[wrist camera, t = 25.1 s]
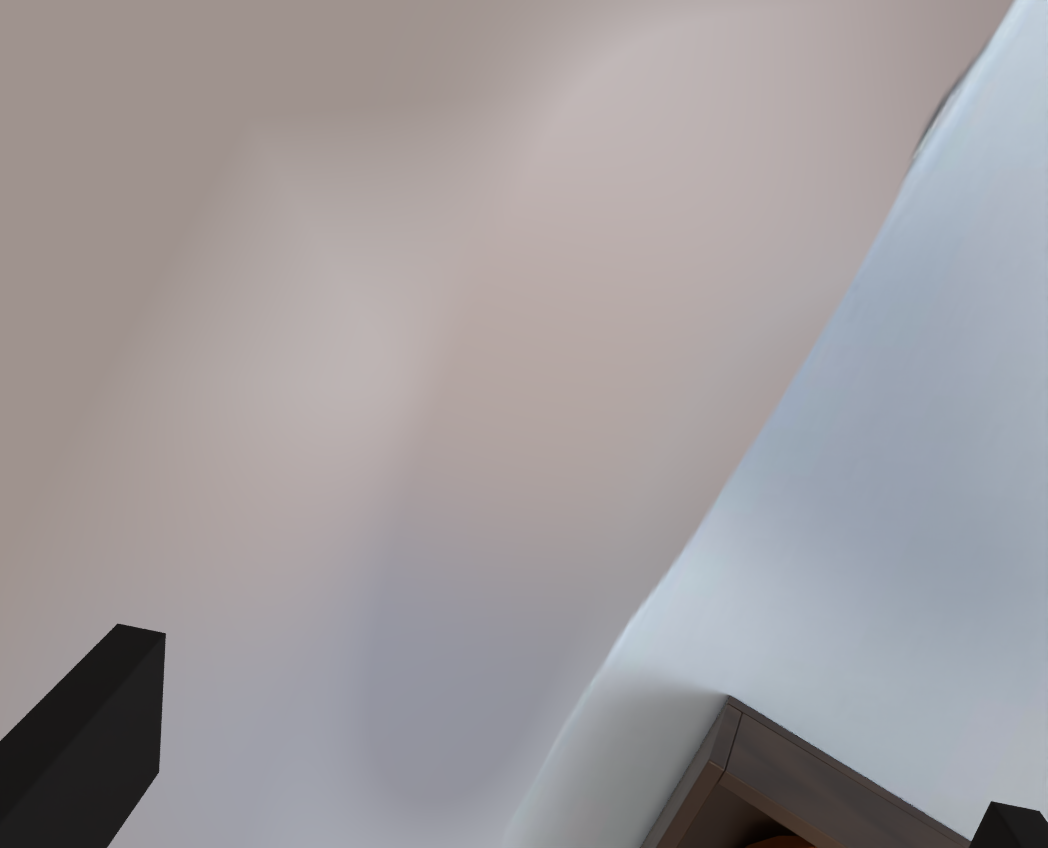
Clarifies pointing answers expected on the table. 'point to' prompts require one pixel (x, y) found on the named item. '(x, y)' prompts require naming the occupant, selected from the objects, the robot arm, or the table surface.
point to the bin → (783, 796)
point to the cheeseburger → (783, 843)
